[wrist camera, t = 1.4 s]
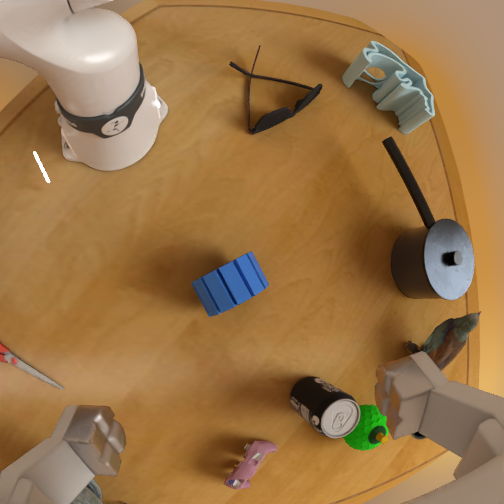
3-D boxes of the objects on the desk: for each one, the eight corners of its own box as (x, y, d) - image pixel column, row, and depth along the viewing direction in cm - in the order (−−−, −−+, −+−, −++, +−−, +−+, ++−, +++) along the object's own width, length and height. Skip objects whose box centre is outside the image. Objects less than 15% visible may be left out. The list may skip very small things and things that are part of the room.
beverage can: (331, 379, 49) (369, 399, 37) (318, 415, 48) (352, 442, 36) (296, 371, 48) (328, 392, 36) (282, 408, 47) (311, 438, 35)
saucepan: (336, 168, 54) (369, 142, 43) (386, 146, 57) (420, 122, 46) (406, 314, 53) (448, 316, 42) (448, 277, 57) (488, 273, 46)
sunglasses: (273, 50, 54) (280, 34, 49) (322, 100, 55) (333, 86, 50) (204, 83, 50) (206, 66, 46) (256, 140, 51) (263, 126, 46)
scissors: (64, 391, 40) (61, 394, 38) (-33, 357, 36) (-37, 358, 34) (66, 345, 41) (63, 346, 39) (-33, 315, 37) (-37, 315, 35)
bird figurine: (410, 416, 50) (497, 382, 36) (376, 402, 49) (470, 363, 35) (414, 359, 60) (490, 318, 45) (384, 341, 59) (463, 293, 44)
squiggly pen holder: (414, 107, 61) (439, 88, 51) (406, 136, 59) (434, 117, 49) (350, 61, 58) (369, 36, 49) (336, 86, 56) (357, 60, 47)
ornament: (380, 409, 50) (413, 426, 40) (355, 445, 48) (384, 467, 39) (351, 391, 49) (384, 408, 40) (324, 429, 48) (352, 453, 38)
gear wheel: (190, 283, 46) (192, 281, 37) (244, 255, 48) (257, 247, 40) (206, 314, 46) (212, 319, 37) (259, 285, 48) (276, 283, 39)
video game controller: (257, 431, 47) (248, 439, 40) (280, 444, 45) (275, 455, 39) (226, 473, 45) (214, 486, 38) (249, 487, 43) (240, 501, 37)
